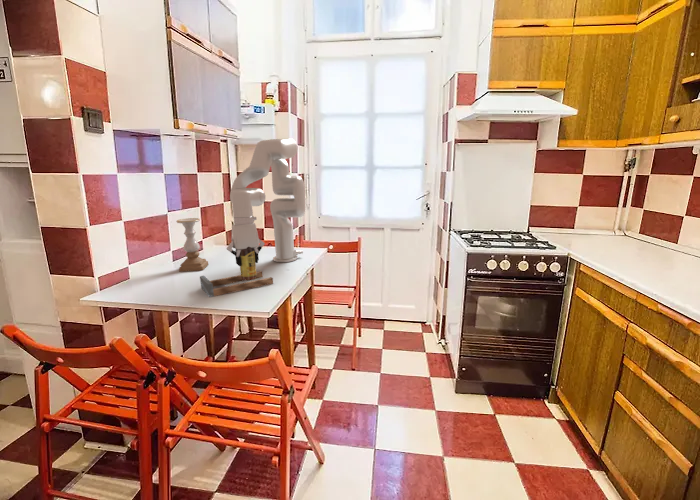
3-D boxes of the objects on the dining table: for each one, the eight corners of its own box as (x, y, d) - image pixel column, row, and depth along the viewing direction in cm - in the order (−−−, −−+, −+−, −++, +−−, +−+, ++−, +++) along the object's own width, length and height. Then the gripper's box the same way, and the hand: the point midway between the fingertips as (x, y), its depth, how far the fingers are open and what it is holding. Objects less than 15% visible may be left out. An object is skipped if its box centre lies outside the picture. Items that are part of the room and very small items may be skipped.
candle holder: (208, 264, 185) (203, 217, 180) (202, 270, 174) (196, 220, 169) (186, 265, 184) (179, 218, 178) (178, 271, 173) (172, 221, 168)
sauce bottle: (252, 281, 149) (248, 233, 145) (238, 281, 150) (233, 233, 146) (259, 276, 155) (255, 230, 151) (245, 276, 157) (241, 230, 152)
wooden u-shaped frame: (261, 276, 163) (260, 265, 162) (273, 283, 152) (272, 272, 151) (201, 288, 149) (199, 276, 148) (209, 297, 138) (208, 284, 137)
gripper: (260, 217, 155) (264, 258, 159) (219, 222, 146) (224, 265, 150) (267, 219, 149) (271, 262, 153) (224, 224, 140) (229, 269, 144)
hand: (247, 263), depth 151 cm, fingers closed on sauce bottle, 6 cm apart
